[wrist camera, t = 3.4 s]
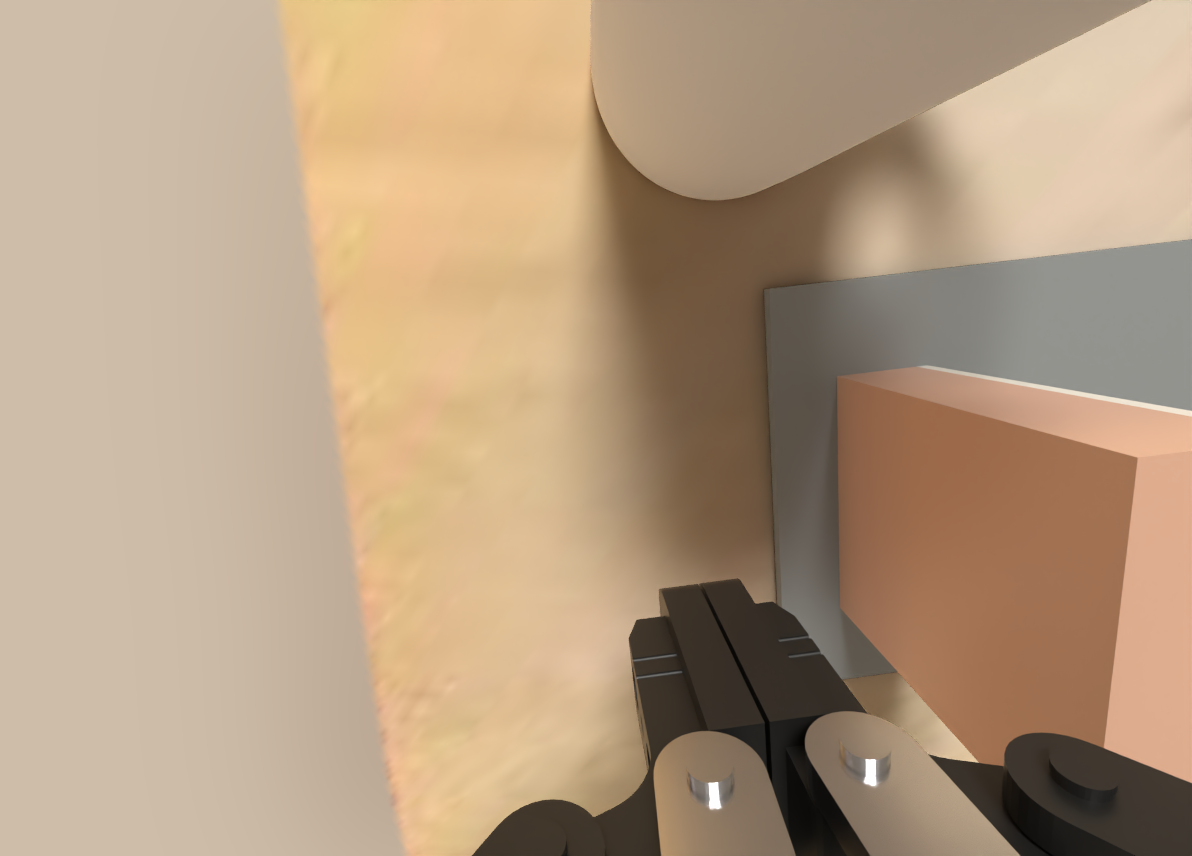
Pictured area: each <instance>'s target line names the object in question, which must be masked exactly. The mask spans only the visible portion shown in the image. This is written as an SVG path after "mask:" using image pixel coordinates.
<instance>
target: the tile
mask: <svg viewBox="0 0 1192 856" xmlns="http://www.w3.org/2000/svg"><path fill="white" fill-rule="evenodd" d="M837 422H838V501H839V580H840V608H841V609H842V611H843V612H844V613H845V614H846V615H847V616H848V617H849V618H850V619H851V621H852V622H853V623H854V624H855V625H856V626H857V627H858V628H859V629H860V631H861V632H862V633H863V634H864V635H865V636H866V637H867V638H868V639H869V641H870V642H871V643H872V644H873V645H874V646H875V647H876V648H877V649H878V651H879V652H880V653H881V654H882V655H883V656H884V657H885V658H886V659H887V661H888V662H889V663H890V664H891V665H892V666H893V667H894V668H895V669H896V671H897V672H898V673H899V674H900V675H901V676H902V677H903V678H904V679H905V681H906V682H907V683H908V684H909V685H910V686H911V687H912V688H913V689H914V691H915V692H916V693H917V694H918V695H919V696H920V697H921V698H922V699H923V701H924V702H925V703H926V704H927V705H928V706H929V707H930V708H931V709H932V711H933V712H934V713H935V714H936V715H937V716H938V717H939V718H940V719H941V721H942V722H943V723H944V724H945V725H946V726H947V727H948V728H949V729H950V731H951V732H952V733H953V734H954V735H955V736H956V737H957V738H958V739H959V741H960V742H961V743H962V744H963V745H964V746H965V747H966V748H967V749H968V751H969V752H970V753H971V754H972V755H973V756H974V757H975V758H976V759H977V761H978V762H979V763H983V764H991V765H999V766H1004V753H1005V750H1006V747H1007V745H1008V744H1009V742H1010V741H1012V740H1013V739H1014V738H1016V737H1018V736H1021V735H1024V734H1029V733H1041V732H1043V733H1055V734H1061V735H1066V736H1070V737H1074V738H1077V739H1081V740H1084V741H1086V742H1089V743H1092V744H1095V745H1097V746H1100V747H1102V748H1105V749H1107V750H1110V751H1112V752H1115V753H1117V754H1120V755H1122V756H1125V757H1127V758H1130V759H1132V760H1135V761H1137V762H1140V763H1142V764H1145V765H1147V766H1150V767H1152V768H1155V769H1157V770H1160V771H1162V772H1165V773H1168V774H1170V775H1173V776H1175V777H1178V778H1180V779H1183V780H1185V781H1188V782H1190V783H1192V411H1189V410H1183V409H1178V408H1172V407H1166V406H1160V405H1154V404H1149V403H1143V402H1137V401H1131V400H1125V399H1120V398H1114V397H1108V396H1102V395H1096V394H1091V393H1085V392H1079V391H1073V390H1067V389H1062V388H1056V387H1050V386H1044V385H1038V384H1033V383H1027V382H1021V381H1015V380H1009V379H1004V378H998V377H992V376H986V375H980V374H975V373H969V372H963V371H957V370H951V369H946V368H940V367H934V366H928V365H926V366H917V367H909V368H901V369H893V370H884V371H876V372H868V373H860V374H852V375H843V376H837Z"/></svg>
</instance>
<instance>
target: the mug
mask: <svg viewBox="0 0 1192 856" xmlns="http://www.w3.org/2000/svg"><path fill="white" fill-rule="evenodd" d="M1149 1H1151V0H591V28H590V60H591V75H592V83H593V89H594V94H595V98H596V102H597V105H598V109H599V112H600V114H601V117H602V120H603V122H604V124H605V126H606V128H607V130H608V132H609V134H610V136H611V138H612V139H613V141H614V143H615V144H616V146H617V147H618V149H619V150H620V151H621V153H622V154H623V155H624V156H625V158H626V159H627V160H628V161H629V162H630V163H631V164H632V165H633V166H634V167H635V168H636V169H637V170H638V171H639V172H640V173H642V174H643V175H644V176H645V177H647V178H648V179H649V180H651V181H652V182H654V183H656V184H657V185H659V186H661V187H663V188H665V189H667V190H669V191H671V192H674V193H676V194H679V195H682V196H686V197H690V198H695V199H702V200H728V199H735V198H740V197H744V196H748V195H751V194H754V193H757V192H759V191H762V190H764V189H767V188H769V187H771V186H773V185H776V184H778V183H780V182H783V181H785V180H787V179H789V178H792V177H794V176H796V175H798V174H800V173H802V172H804V171H806V170H808V169H810V168H813V167H815V166H817V165H819V164H821V163H822V162H824V161H826V160H828V159H830V158H832V157H834V156H836V155H838V154H840V153H842V152H844V151H846V150H848V149H850V148H852V147H854V146H856V145H858V144H860V143H862V142H864V141H866V140H868V139H870V138H872V137H874V136H876V135H878V134H880V133H882V132H884V131H886V130H888V129H890V128H892V127H894V126H896V125H898V124H900V123H902V122H905V121H907V120H909V119H911V118H913V117H915V116H917V115H919V114H921V113H923V112H925V111H927V110H929V109H931V108H933V107H935V106H937V105H939V104H941V103H943V102H945V101H947V100H949V99H951V98H953V97H955V96H957V95H959V94H961V93H963V92H966V91H968V90H970V89H972V88H974V87H976V86H978V85H980V84H982V83H984V82H986V81H988V80H990V79H992V78H994V77H996V76H998V75H1000V74H1002V73H1004V72H1006V71H1008V70H1010V69H1012V68H1014V67H1016V66H1019V65H1021V64H1023V63H1025V62H1027V61H1029V60H1031V59H1033V58H1035V57H1037V56H1039V55H1041V54H1043V53H1045V52H1047V51H1049V50H1051V49H1053V48H1055V47H1057V46H1059V45H1061V44H1063V43H1065V42H1067V41H1070V40H1072V39H1074V38H1076V37H1078V36H1080V35H1082V34H1084V33H1086V32H1088V31H1090V30H1092V29H1094V28H1096V27H1098V26H1100V25H1102V24H1104V23H1106V22H1108V21H1110V20H1112V19H1114V18H1116V17H1118V16H1120V15H1122V14H1125V13H1127V12H1129V11H1131V10H1133V9H1135V8H1137V7H1139V6H1141V5H1143V4H1145V3H1147V2H1149Z"/></svg>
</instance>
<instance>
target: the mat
mask: <svg viewBox="0 0 1192 856" xmlns="http://www.w3.org/2000/svg"><path fill="white" fill-rule="evenodd" d="M764 301H765V325H766V349H767V372H768V396H769V420H770V444H771V468H772V492H773V516H774V540H775V564H776V588H777V605H778V606H780V607H781V608H783V609H785V610H786V611H788V612H789V613H791V614H793V615H794V616H795V617H796V618H797V619H798V621H799V622H800V624H801V625H802V626H803V628H804V629H805V630H806V632H807V633H808V634H809V638H812V640H813V641H814V643H815V644H816V645H817V647H818V648H819V649H820V652H821V655H822V654H823V655H824V656H825V657H826V659H827V660H828V661H829V663H830V664H831V666H832V667H833V668H834V670H835V671H836V672H837V674H838V675H839V676H840V678H841V679H850V678H857V677H864V676H872V675H879V674H886V673H894V672H897V671H896V669H895V668H894V667H893V666H892V665H891V664H890V663H889V662H888V661H887V659H886V658H885V657H884V656H883V655H882V654H881V653H880V652H879V651H878V649H877V648H876V647H875V646H874V645H873V644H872V643H871V642H870V641H869V639H868V638H867V637H866V636H865V635H864V634H863V633H862V632H861V631H860V629H859V628H858V627H857V626H856V625H855V624H854V623H853V622H852V621H851V619H850V618H849V617H848V616H847V615H846V614H845V613H844V612H843V611H842V609H841V608H840V580H839V501H838V422H837V376H843V375H852V374H860V373H868V372H876V371H884V370H893V369H901V368H909V367H917V366H926V365H928V366H934V367H940V368H946V369H951V370H957V371H963V372H969V373H975V374H980V375H986V376H992V377H998V378H1004V379H1009V380H1015V381H1021V382H1027V383H1033V384H1038V385H1044V386H1050V387H1056V388H1062V389H1067V390H1073V391H1079V392H1085V393H1091V394H1096V395H1102V396H1108V397H1114V398H1120V399H1125V400H1131V401H1137V402H1143V403H1149V404H1154V405H1160V406H1166V407H1172V408H1178V409H1183V410H1189V411H1192V239H1191V240H1182V241H1174V242H1165V243H1156V244H1148V245H1139V246H1131V247H1122V248H1114V249H1105V250H1096V251H1088V252H1079V253H1071V254H1062V255H1053V256H1045V257H1036V258H1028V259H1019V260H1011V261H1002V262H993V263H985V264H976V265H968V266H959V267H951V268H942V269H933V270H925V271H916V272H908V273H899V274H891V275H882V276H873V277H865V278H856V279H848V280H839V281H830V282H822V283H813V284H805V285H796V286H788V287H779V288H770V289H764Z"/></svg>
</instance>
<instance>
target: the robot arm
mask: <svg viewBox="0 0 1192 856" xmlns="http://www.w3.org/2000/svg"><path fill="white" fill-rule="evenodd" d="M659 602H660V613H661V617H655V618H647V619H640V620H636V623H635V625H634V627H633V630H632V632H631V634H630V637H629V645H630V654H631V663H632V672H633V681H634V690H635V699H636V708H637V714H638V720H639V726H640V731H641V736H642V742H643V748H644V753H645V759H646V765H647V770H648V773H647V775H646V777H645V779H644V781H643V783H642V784H641V786H640V787H639V788H638V790H637V791H636V792H635V793H634V794H633V795H632V796H631V797H629V798H628V799H627V800H626V801H624V802H623V803H621V804H620V805H618V806H616V807H614V808H613V809H611V810H608V811H606V812H604V813H602V814H600V815H598V816H596V817H594V818H593V817H592V815H591V814H590V813H589V812H588V811H586V810H585V809H583V808H582V807H580V806H578V805H576V804H574V803H572V802H568V801H563V800H542V801H538V802H534V803H531V804H529V805H526V806H524V807H522V808H520V809H518V810H517V811H515V812H513V813H512V814H511V815H509V816H508V817H507V818H505V819H504V820H503V821H502V822H501V823H500V824H499V825H498V826H497V827H496V828H495V830H494V831H493V832H492V833H491V834H490V835H489V837H488V838H487V839H486V840H485V841H484V842H483V844H482V845H481V846H480V847H479V848H478V849H477V850H476V852H475V853H474V854H473V855H472V856H1192V783H1190V782H1188V781H1185V780H1183V779H1180V778H1178V777H1175V776H1173V775H1170V774H1168V773H1165V772H1162V771H1160V770H1157V769H1155V768H1152V767H1150V766H1147V765H1145V764H1142V763H1140V762H1137V761H1135V760H1132V759H1130V758H1127V757H1125V756H1122V755H1120V754H1117V753H1115V752H1112V751H1110V750H1107V749H1105V748H1102V747H1100V746H1097V745H1095V744H1092V743H1089V742H1086V741H1084V740H1081V739H1077V738H1074V737H1070V736H1066V735H1061V734H1055V733H1043V732H1041V733H1029V734H1024V735H1021V736H1018V737H1016V738H1014V739H1013V740H1012V741H1010V742H1009V744H1008V745H1007V747H1006V750H1005V753H1004V766H999V765H991V764H983V763H976V762H968V761H960V760H952V759H946V758H940V757H936V756H932V755H929V754H927V753H926V752H925V750H924V749H923V748H922V747H921V746H920V745H919V744H918V743H917V742H916V741H915V740H914V739H913V738H912V737H911V736H910V735H909V734H908V733H906V732H905V731H904V730H902V729H901V728H900V727H898V726H896V725H894V724H893V723H891V722H889V721H887V720H884V719H882V718H880V717H877V716H874V715H870V714H867V713H866V712H865V710H864V709H863V708H862V706H861V705H860V703H859V702H858V701H857V699H856V698H855V697H854V695H853V694H852V693H851V691H850V690H849V689H848V687H847V686H846V685H845V683H844V682H843V680H842V679H841V678H840V676H839V675H838V674H837V672H836V671H835V670H834V668H833V667H832V666H831V664H830V663H829V661H828V660H827V659H826V657H825V656H824V655H823V654H822V655H821V652H820V649H819V648H818V647H817V645H816V644H815V643H814V641H813V640H812V638H809V634H808V633H807V632H806V630H805V629H804V628H803V626H802V625H801V624H800V622H799V621H798V619H797V618H796V617H795V616H794V615H793V614H791V613H789V612H788V611H786V610H785V609H783V608H781V607H780V606H778V605H777V604H775V603H773V602H766V603H759V604H755V603H754V601H753V600H752V598H751V596H750V595H749V593H748V592H747V590H746V589H745V587H744V585H743V584H742V582H741V581H740V580H739V579H731V580H723V581H716V582H708V583H701V584H699V585H698V584H694V585H686V586H679V587H671V588H664V589H659Z"/></svg>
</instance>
